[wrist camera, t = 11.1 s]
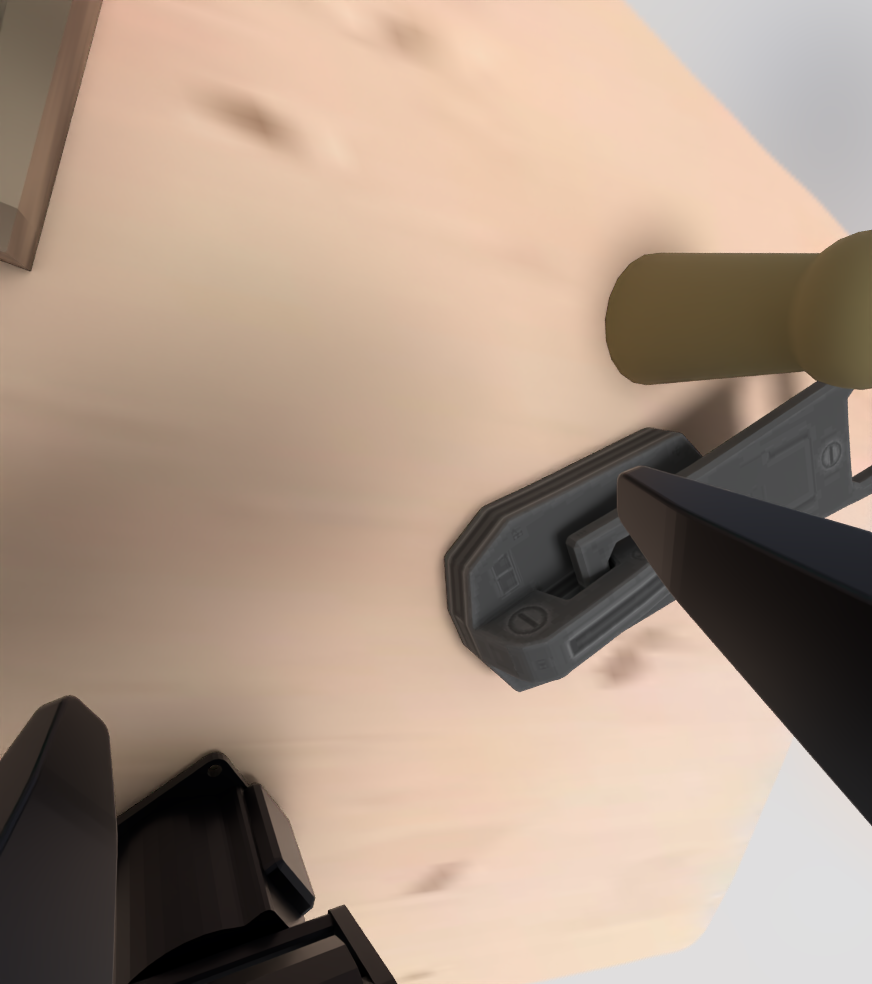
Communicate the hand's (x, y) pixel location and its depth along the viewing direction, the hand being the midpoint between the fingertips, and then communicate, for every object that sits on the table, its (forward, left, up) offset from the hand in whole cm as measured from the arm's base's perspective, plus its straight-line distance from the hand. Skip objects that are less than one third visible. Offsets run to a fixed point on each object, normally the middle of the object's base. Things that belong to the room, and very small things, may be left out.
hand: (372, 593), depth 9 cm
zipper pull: (+17, -12, -13) cm, 24 cm away
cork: (+20, -4, -13) cm, 24 cm away
